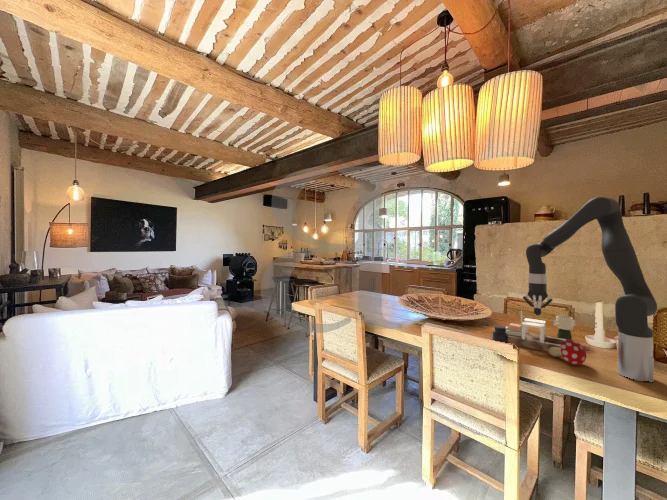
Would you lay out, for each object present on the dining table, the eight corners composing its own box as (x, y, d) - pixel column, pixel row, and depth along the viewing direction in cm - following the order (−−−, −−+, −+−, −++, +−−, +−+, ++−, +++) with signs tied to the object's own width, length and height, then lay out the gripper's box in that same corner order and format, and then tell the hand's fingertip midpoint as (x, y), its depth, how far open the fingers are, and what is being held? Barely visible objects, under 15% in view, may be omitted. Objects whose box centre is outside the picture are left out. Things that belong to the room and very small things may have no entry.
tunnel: (545, 335, 144) (545, 321, 144) (543, 342, 134) (543, 327, 134) (525, 332, 150) (525, 318, 150) (521, 338, 140) (521, 323, 140)
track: (568, 347, 138) (569, 339, 138) (568, 356, 128) (568, 347, 128) (505, 335, 157) (505, 328, 157) (500, 342, 146) (500, 334, 146)
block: (521, 333, 148) (521, 324, 148) (520, 336, 144) (520, 326, 144) (510, 331, 151) (510, 323, 151) (509, 334, 148) (509, 325, 147)
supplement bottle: (492, 351, 134) (492, 327, 134) (491, 346, 140) (491, 324, 140) (508, 353, 131) (508, 329, 131) (507, 349, 137) (507, 325, 137)
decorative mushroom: (542, 335, 132) (573, 334, 118) (561, 346, 132) (594, 347, 118) (538, 356, 128) (570, 357, 114) (558, 368, 128) (592, 371, 114)
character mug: (569, 338, 151) (570, 315, 151) (580, 342, 144) (580, 318, 144) (549, 337, 153) (549, 315, 152) (558, 342, 145) (558, 318, 145)
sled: (523, 332, 149) (523, 310, 148) (521, 336, 143) (521, 312, 142) (506, 329, 154) (506, 307, 154) (503, 333, 148) (503, 310, 148)
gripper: (521, 281, 142) (521, 314, 142) (553, 283, 133) (553, 318, 133) (522, 280, 147) (523, 312, 147) (554, 282, 138) (554, 315, 138)
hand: (537, 315), depth 140 cm, fingers closed
